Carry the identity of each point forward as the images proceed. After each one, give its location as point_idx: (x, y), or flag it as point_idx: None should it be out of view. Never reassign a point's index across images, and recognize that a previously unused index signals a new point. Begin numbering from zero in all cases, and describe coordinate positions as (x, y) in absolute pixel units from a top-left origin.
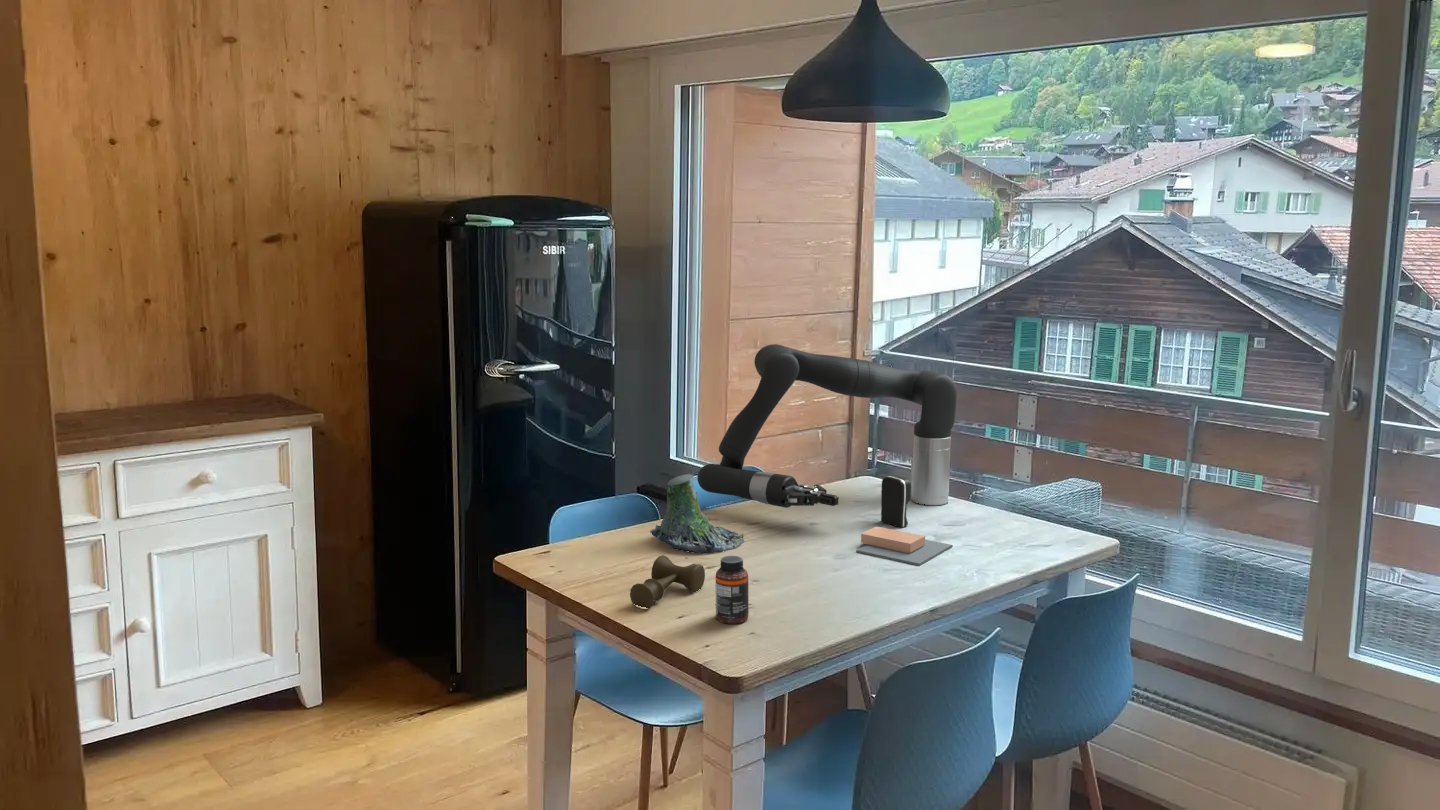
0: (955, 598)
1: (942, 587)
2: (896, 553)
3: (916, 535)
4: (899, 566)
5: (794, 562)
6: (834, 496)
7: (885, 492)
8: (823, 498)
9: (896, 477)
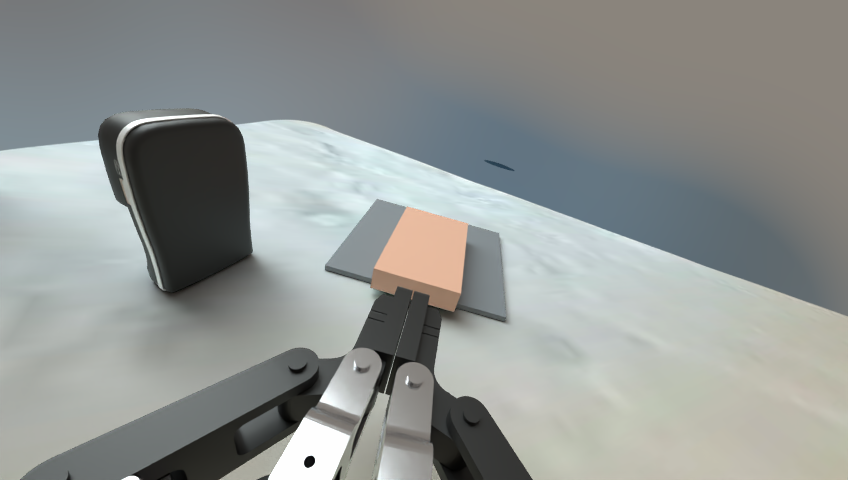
0: (571, 217)
1: (552, 223)
2: (473, 256)
3: (411, 214)
4: (521, 256)
5: (718, 460)
6: (423, 294)
7: (171, 191)
8: (434, 355)
9: (175, 114)
